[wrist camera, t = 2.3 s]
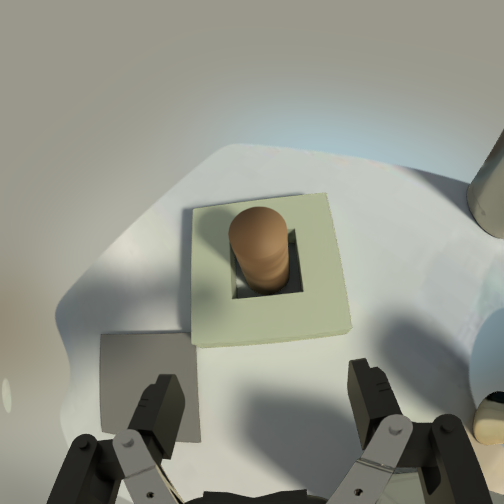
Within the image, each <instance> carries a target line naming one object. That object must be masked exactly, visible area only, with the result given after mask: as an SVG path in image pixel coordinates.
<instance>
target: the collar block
mask: <svg viewBox="0 0 504 504" xmlns="http://www.w3.org/2000/svg"><path fill="white" fill-rule="evenodd" d="M259 206H260V207H267V208H271V209H273V210H275V211H277V212H278V213H279V214H280V215H281V216H282V217H283V219H284V220H285V222H286V225H287V237H288V243H293V242H295V246H296V253H297V260H298V268H299V275H300V283H301V291H302V292H299V293H290V294H281V295H272V296H262V297H252V298H242V299H237V289H236V268H235V253H234V251H233V248H232V246H231V244H230V241H229V236H228V231H229V227H230V224H231V222H232V221H233V219H234V218H235V217H236V216H237V215H238V214H239V213H240V212H242V211H244V210H246V209H248V208H251V207H259ZM351 329H352V322H351V316H350V309H349V303H348V297H347V291H346V285H345V280H344V274H343V269H342V264H341V258H340V253H339V248H338V243H337V239H336V234H335V229H334V225H333V220H332V216H331V211H330V207H329V202H328V198H327V194H326V193H316V194H306V195H297V196H288V197H279V198H270V199H262V200H254V201H246V202H238V203H231V204H223V205H216V206H209V207H202V208H195V209H193V221H192V255H191V342H192V344H193V345H195V346H198V347H200V348H213V347H230V346H245V345H257V344H268V343H279V342H288V341H297V340H306V339H314V338H322V337H329V336H336V335H343V334H347V333H348V332H349V331H350V330H351Z"/></svg>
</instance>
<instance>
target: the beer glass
mask: <svg viewBox="0 0 504 504" xmlns="http://www.w3.org/2000/svg"><path fill="white" fill-rule="evenodd" d="M473 432H474V436H475V438H476V439H477V441H478V442H480V443H481V444H484V445H493V444H504V392H502V391H497V392H493V393H491V394H489V395H488V396H487V397H486V398H485V399H484V400H483V401H482V402H481V404H480V405H479V407H478V409H477V411H476V413H475V417H474V421H473Z"/></svg>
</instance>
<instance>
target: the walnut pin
mask: <svg viewBox="0 0 504 504" xmlns="http://www.w3.org/2000/svg"><path fill="white" fill-rule="evenodd" d="M228 236H229V241H230V244H231V246H232V248H233V251H234V253H235V255H236V258H237V260H238V262H239V265H240V267H241V269H242V272H243V274H244V276H245V279H246V281H247V283H248V285H249V287H250V288H251V289H252V290H253V291H255V292H256V293H258V294H261V295H272V294H275V293H278V292H279V291H281V290H282V289H283V288H284V287H285V286H286V284H287V282H288V279H289V258H288V237H287V225H286V222H285V220H284V219H283V217H282V216H281V215H280V214H279V213H278V212H277V211H275V210H273V209H271V208H267V207H260V206H259V207H251V208H248V209H246V210H244V211H242V212H240V213H239V214H238V215H237V216H236V217H235V218H234V219H233V221H232V222H231V224H230V227H229V231H228Z"/></svg>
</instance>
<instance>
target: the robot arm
mask: <svg viewBox="0 0 504 504" xmlns="http://www.w3.org/2000/svg"><path fill="white" fill-rule="evenodd" d="M467 201H468V205H469V208H470V211H471V213H472V215H473V216H474V218H475V219H476V221H477V222H478V224H479V225H480V226H481V227H482V228H483V229H484V230H485V231H486V232H488V233H489V234H491V235H492V236H494V237H497V238H502V239H504V129H503V131H502V133H501V135H500V137H499V138H498V140H497V142H496V144H495V145H494V147H493V149H492V151H491V152H490V154H489V155H488V157H487V159H486V160H485V162H484V164H483V165H482V167H481V168H480V170H479V172H478V173H477V175H476V176H475V178H474V180H473V181H472V182H471V184H470V185H469V187H468V190H467ZM347 389H348V396H349V400H350V403H351V407H352V411H353V414H354V418H355V422H356V426H357V430H358V434H359V438H360V442H361V446H362V450H365V451H364V453H363V455H362V456H361V458H360V459H357V460H356V462H355V463H354V464H353V466H352V467H351V469H350V471H349V472H348V474H347V475H346V477H345V478H344V479H343V481H342V482H341V484H340V485H339V487H338V488H337V489H336V491H335V492H334V494H333V495H332V496H331V498H330V499H329V500H327V499H324V498H321V497H318V496H313V495H307V489H304V490H293V491H280V492H277V493H273V494H269V495H265V496H261V497H256V498H251V497H246V496H241V495H237V494H233V493H228V492H208V491H204V493H203V497H200V498H196V499H193V500H190V501H188V502H186V503H185V502H184V501H183V499H182V498H181V497H180V495H179V494H178V492H177V491H176V489H175V488H174V486H173V484H172V483H171V481H170V479H169V478H168V476H167V474H166V473H165V471H164V469H163V467H162V466H161V462H162V459H170V460H171V456H172V453H173V449H174V445H175V441H176V438H177V434H178V431H179V427H180V423H181V420H182V416H183V413H184V409H185V396H184V393H183V391H182V388H181V386H180V383H179V381H178V378H177V376H176V375H175V374H159V376H158V378H157V380H156V383H155V384H150V385H149V386H148V387H147V388H146V389H145V390H144V391H143V393H142V395H141V398H140V400H139V402H138V405H137V407H136V409H135V412H134V414H133V416H132V419H131V421H130V423H129V426H128V428H127V430H123V431H121V432H119V433H118V434H116V436H115V437H114V439H110V440H101V441H97V440H96V438H95V437H94V436H92V435H90V434H82V435H80V436H78V437H76V438H75V439H74V441H73V442H72V444H71V447H70V449H69V451H68V453H67V455H66V458H65V460H64V462H63V465H62V467H61V469H60V472H59V474H58V476H57V479H56V481H55V484H54V486H53V489H52V491H51V493H50V496H49V498H48V501H47V504H115V501H116V498H117V494H118V490H119V487H120V483H121V480H122V479H124V482H125V485H126V487H127V489H128V491H129V494H130V496H131V498H132V500H133V502H134V504H376V503H377V501H378V500H379V498H380V496H381V494H382V493H383V491H384V489H385V487H386V486H387V484H388V482H389V480H390V478H391V476H392V474H393V473H394V471H395V469H396V467H416V468H417V472H418V475H419V479H420V483H421V488H422V492H423V496H424V501H425V504H493V502H492V499H491V496H490V493H489V490H488V487H487V484H486V481H485V478H484V476H483V473H482V470H481V468H480V465H479V462H478V460H477V457H476V455H475V452H474V450H473V447H472V445H471V442H470V440H469V438H468V435H467V433H466V431H465V429H464V426H463V424H462V422H461V420H460V419H459V418H458V417H456V416H455V415H451V414H444V415H440V416H439V417H437V418H436V419H435V420H434V422H433V423H416V422H412V421H411V420H410V419H409V418H407V417H406V416H403V414H402V412H401V410H400V407H399V405H398V403H397V400H396V398H395V395H394V393H393V391H392V390H391V386H390V384H389V382H388V379H387V377H386V374H385V373H384V372H383V371H382V370H381V369H380V368H378V367H373V368H370V367H369V364H368V362H367V360H366V358H362V359H356V360H350V361H349V368H348V382H347Z"/></svg>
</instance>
